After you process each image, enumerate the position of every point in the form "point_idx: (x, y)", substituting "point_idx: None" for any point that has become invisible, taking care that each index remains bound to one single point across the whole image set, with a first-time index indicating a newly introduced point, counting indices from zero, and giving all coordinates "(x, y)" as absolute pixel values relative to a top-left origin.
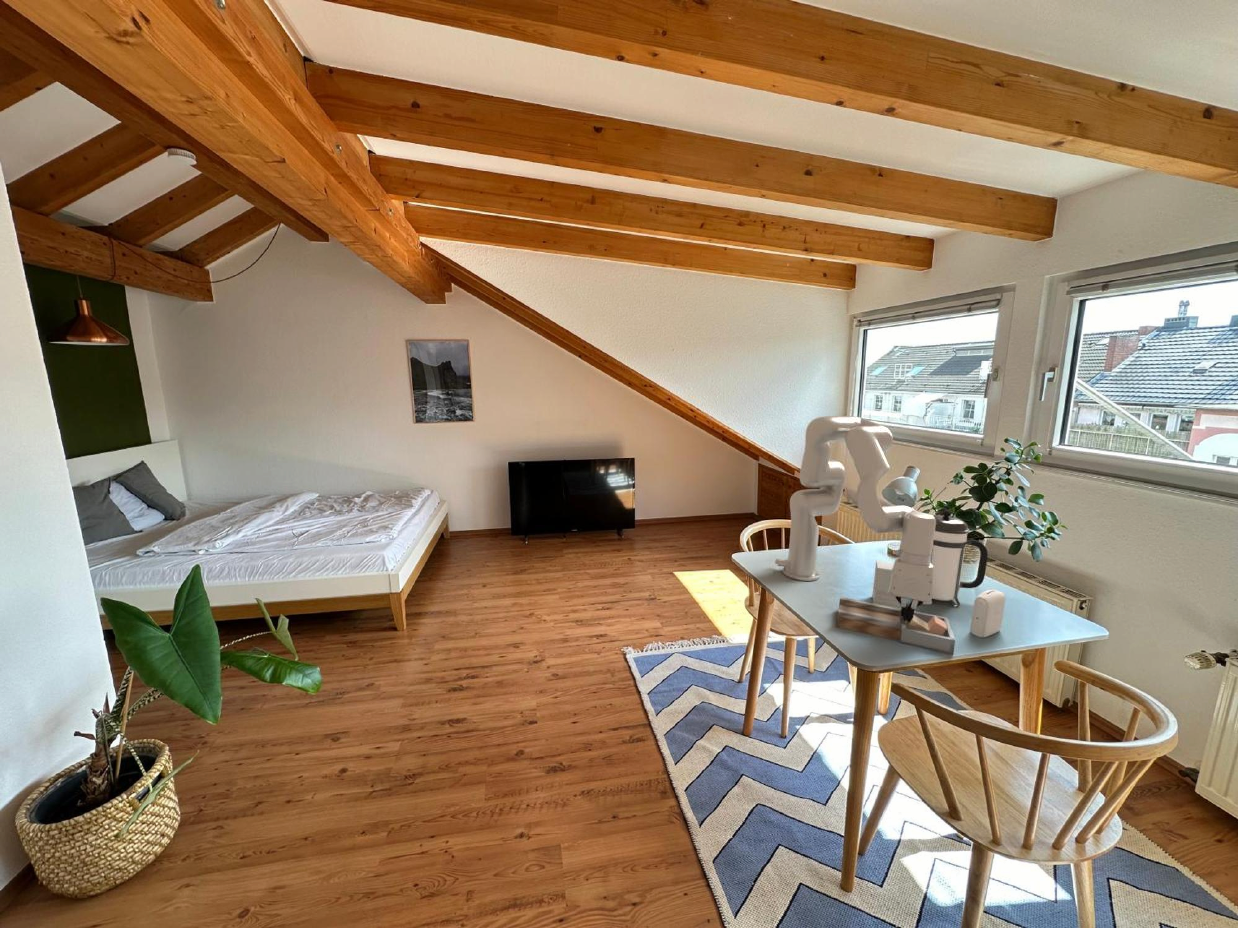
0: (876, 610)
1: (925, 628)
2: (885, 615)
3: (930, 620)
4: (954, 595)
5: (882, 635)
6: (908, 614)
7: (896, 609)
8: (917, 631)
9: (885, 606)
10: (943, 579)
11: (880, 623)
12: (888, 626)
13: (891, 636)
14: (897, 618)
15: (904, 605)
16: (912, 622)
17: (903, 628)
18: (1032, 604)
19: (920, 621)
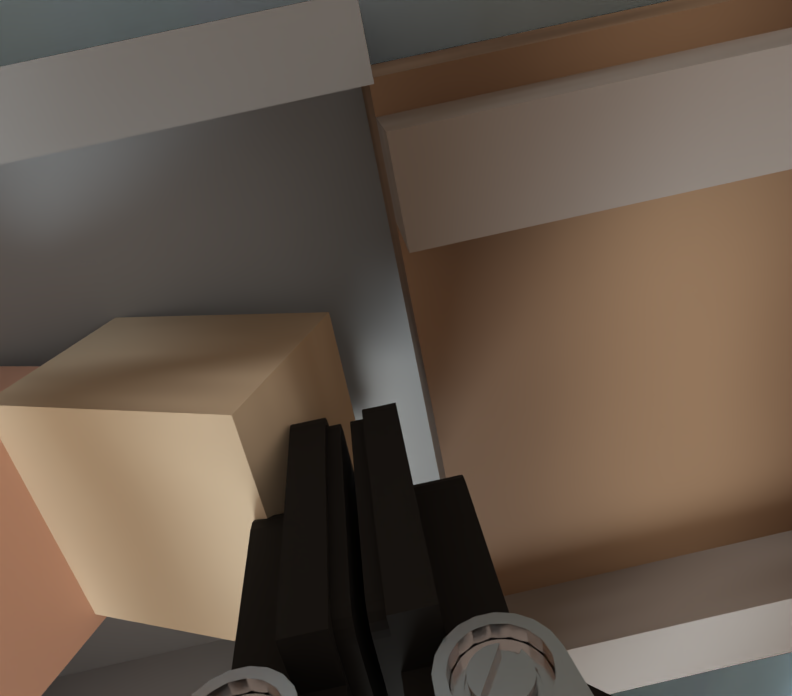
0: (758, 542)
1: (31, 405)
2: (643, 485)
3: (35, 665)
4: None
5: (605, 15)
6: (333, 509)
7: None
8: (64, 108)
9: (686, 657)
10: None
11: (761, 42)
12: (603, 65)
13: (486, 42)
14: (485, 507)
15: (478, 665)
16: (235, 387)
17: (337, 44)
18: None
19: (155, 552)
